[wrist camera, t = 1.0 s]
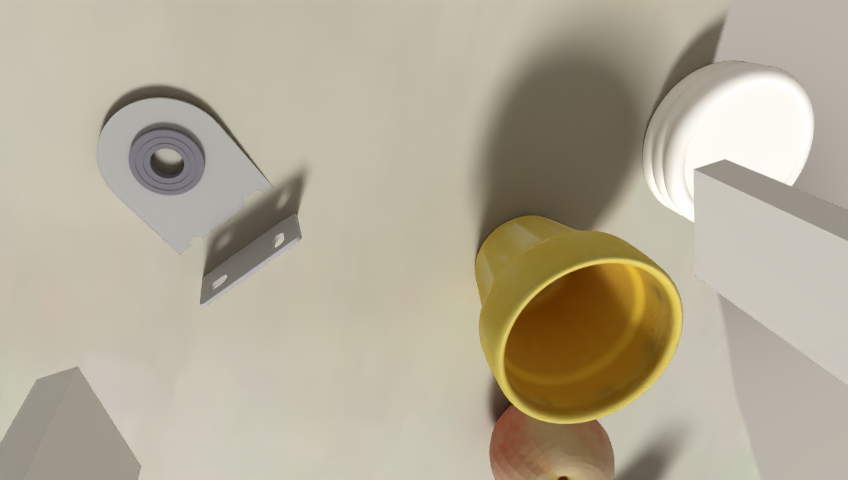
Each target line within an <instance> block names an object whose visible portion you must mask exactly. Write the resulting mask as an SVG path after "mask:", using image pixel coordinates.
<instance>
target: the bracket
mask: <svg viewBox="0 0 848 480" xmlns="http://www.w3.org/2000/svg"><path fill="white" fill-rule="evenodd" d="M163 148H168V149H172V150H175V151H176V152H178V153H179V154H180V155H181V156H182V158H183V160H184V167H183V168H182V169H181V170H180V171H179V172H177V173H173V174H167V173H163V172H161V171H159V170H158V169H157V168H156V167H155V166H154V164H153V162H152V154H153V153H154V152H155V151H157V150H159V149H163ZM97 160H98V165H99V169H100V172H101V174H102V177H103V179H104V180H105V182H106V184H107V185H108V187H109V188H110V189H111V191H112V192H113V193H114V194H115V195H116V196H117V197H118V198H119V199H120V200H121V201H122V202H123V203H124V204H125V205H126V206H128V207H129V208H130V209H131V210H132V211H133V212H134V213H135V214H136V215H137V216H138V217H139V218H141V219H142V220H143V221H144V222H145V223H146V224H147V225H148V226H149V227H150V228H151V229H152V230H154V231H155V232H156V233H157V234H158V235H159V236H160V237H161V238H162V239H163V240H164V241H165V242H166V243H168V244H169V245H170V246H171V247H172V248H173V249H174V250H175V251H176V252H177V253H178V254H179V255H180V254H181V253H183V252H184V251H185V250H187V249H188V248H189V247H191V245H190V240H191V239H192V238H193V237H195V236H200V237H202V238H203V237H205V236H206V235H207V234H209V233H210V232H212V231H213V230H214V229H216V228H217V227H218V226H220V225H221V224H223V223H224V222H225V221H227V220H228V219H229V218H231V217H232V216H234V215H235V214H236V213H238V212H239V211H241V210H242V209H243V208H244V206H243V200H244V199H245V198H246V197H248V196H249V195H251V194H252V193H253V192H255V191H262V192H264V193H265V192H267V191H268V190H270V189H271V188H272V187H273V186H272V185H271V184H270V183H269V181H268V180H267V179H266V178H265V177H264V176H263V174H262V173H261V172H260V171H259V170H258V168H257V167H256V166H255V165H254V164H253V163H252V161H251V160H250V159H249V158H248V157H247V155H246V154H245V153H244V152H243V151H242V150H241V148H240V147H239V146H238V145H237V144H236V143H235V141H234V140H233V139H232V138H231V137H230V136H229V135H228V133H227V132H226V131H225V130H224V129H223V128H222V127H221V125H220V124H219V123H218V122H217V121H216V120H215V119H214V118H213V117H212V116H211V115H209V114H208V113H207V112H205V111H204V110H202V109H201V108H199V107H197V106H195V105H193V104H191V103H189V102H186V101H182V100H179V99H174V98H167V97H153V98H146V99H141V100H138V101H135V102H132V103H130V104H128V105H126V106H124V107H123V108H121V109H120V110H119V111H117V112H116V113H115V114H114V115H113V116H112V117H111V118H110V119H109V121H108V122H107V123H106V125H105V126H104V128H103V130H102V132H101V134H100V137H99V141H98V146H97ZM283 236H284V241H283V243H282V244H281V245H279V246H278V247H276V248H275V243H276V242H277V240H279V239H280V238H281V237H283ZM301 237H302V236H301V231H300V226H299V222H298V217H297V215H296V214H295V213H293V214H292V215H290V216H289V217H288V218H286V219H284V220H282V221H281V222H279V223H278V224H277V225H275V226H274V227H272V228H271V229H269V230H268V231H267V232H265V233H264V234H262V235H261V236H260V237H258V238H257V239H255V240H254V241H253V242H251V243H250V244H248V245H247V246H245V247H244V248H243V249H241V250H240V251H238V252H237V253H236V254H234V255H233V256H231V257H230V258H229V259H227V260H226V261H224V262H223V263H221V264H220V265H219V266H217V267H216V268H214V269H213V270H212V271H211V272H210V273H209V274H207V275H206V276H204V277H203V278H202V288H201V298H200V304H201V305H202V306H203V307H207V306H208V305H210V304H211V303H212V302H214V301H215V300H217V299H218V298H219V297H221V296H222V295H224V294H225V293H227V292H228V291H229V290H231V289H232V288H234V287H235V286H236V285H238V284H239V283H241V282H242V281H244V280H245V279H246V278H248V277H249V276H251V275H252V274H253V273H255V272H256V271H258V270H259V269H261V268H262V267H263V266H265V265H266V264H268V263H269V262H270V261H272V260H273V259H275V258H276V257H278V256H279V255H280V254H282V253H283V252H285V251H286V250H287V249H289V248H290V247H292V246H293V245H295V244H296V243H297V242H299V241H300V239H301ZM225 279H226V280H225ZM223 280H225V281H224V282H223V283H222V284H221V285H220V286H218V287H217V288H215V289H214V290H213V288H214V287H215V286H216V285H218V284H219V283H220V282H222V281H223Z"/></svg>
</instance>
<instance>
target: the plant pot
mask: <svg viewBox="0 0 848 480" xmlns="http://www.w3.org/2000/svg"><path fill="white" fill-rule="evenodd" d="M475 276H476V281H477V285H478V290H479V295H480V299H481V304H482V308H481V313H480V320H479V336H480V342H481V346H482V349H483V352H484V355H485V357H486V360H487V362H488V364H489V366H490V369H491V371H492V373H493V375H494V377H495V379H496V381H497V382H498V384H499V386H500V388H501V390H502V391H503V393H504V394H505V396H506V397H507V398H508V400H509V401H510V402H511V403H512V404H513V405H514V406H515V407H517V408H518V409H519V410H520V411H522V412H523V413H525V414H527V415H529V416H531V417H533V418H536V419H538V420H541V421H545V422H550V423H557V424H573V423H582V422H587V421H591V420H595V419H598V418H601V417H604V416H606V415H609V414H611V413H613V412H615V411H617V410H619V409H621V408H623V407H624V406H626V405H628V404H629V403H631V402H632V401H634V400H635V399H636V398H638V397H639V396H640V395H642V394H643V393H644V392H645V391H646V390H647V389H648V388H649V387H650V386H651V385H652V384H653V383H654V382H655V381H656V380H657V379H658V378H659V377H660V375H661V374H662V373H663V371H664V370H665V369H666V367H667V366H668V364H669V362H670V361H671V359H672V357H673V355H674V353H675V351H676V348H677V346H678V343H679V340H680V336H681V332H682V326H683V308H682V302H681V298H680V295H679V292H678V290H677V288H676V286H675V284H674V282H673V281H672V280H671V278H670V277H669V276H668V274H667V273H666V272H665V271H664V270H663V269H662V268H661V267H659V266H658V265H657V264H656V263H655V262H654V261H652V260H651V259H650V258H649V257H647V256H646V255H645V254H643V253H642V252H641V251H639V250H638V249H636V248H635V247H633V246H632V245H630V244H629V243H627V242H626V241H624V240H622V239H620V238H618V237H616V236H613V235H611V234H607V233H603V232H598V231H589V230H581V231H578V230H575V229H573V228H570V227H568V226H565V225H563V224H561V223H558V222H556V221H554V220H551V219H549V218H546V217H542V216H534V215H530V216H522V217H518V218H514V219H512V220H509V221H507V222H505V223H504V224H502V225H500V226H498V227H497V228H496V229H495V230H494V231H493V232H492V233H491V234H490V235H489V236H488V237H487V238H486V240H485V241H484V243H483V244H482V246H481V248H480V250H479V252H478V255H477V259H476V264H475Z"/></svg>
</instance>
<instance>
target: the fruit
mask: <svg viewBox="0 0 848 480" xmlns="http://www.w3.org/2000/svg"><path fill="white" fill-rule="evenodd" d="M490 462H491V468H492V472H493V475H494V478H495V480H613V477H614V454H613V449H612V446H611V442H610V439H609V437H608V434H607V433H606V431H605V430H604V428H603V427H602V426H601V425H600V423H599V422H598V421H597V420H596V419H595V420H591V421H587V422H582V423H573V424H557V423H550V422H545V421H541V420H538V419H536V418H533V417H531V416H529V415H527V414H525V413H523V412H522V411H520V410H519V409H518V408H517V407H515V406H514V405H513V404H512V405H510V406H509V407H508V408H507V409H506V410H505V412H504V413H503V414H502V415H501V417H500V418H499V419H498V421H497V422H496V425H495V427H494V430H493V432H492V437H491V443H490Z"/></svg>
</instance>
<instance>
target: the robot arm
mask: <svg viewBox="0 0 848 480" xmlns="http://www.w3.org/2000/svg"><path fill="white" fill-rule="evenodd" d="M694 251H695V276H696V277H697V278H699V279H700V280H701V281H703V282H704V283H706V284H707V285H708V286H710V287H711V288H713V289H714V290H715V291H717V292H718V293H720V294H721V295H723V296H724V297H725V298H727V299H728V300H730V301H731V302H732V303H734V304H735V305H736V306H738V307H739V308H741V309H742V310H743V311H745V312H746V313H748V314H749V315H750V316H752V317H753V318H755V319H756V320H757V321H759V322H760V323H762V324H763V325H765V326H766V327H767V328H769V329H770V330H771V331H773V332H774V333H776V334H777V335H778V336H780V337H781V338H783V339H784V340H785V341H787V342H788V343H790V344H791V345H792V346H794V347H795V348H797V349H798V350H799V351H801V352H802V353H804V354H805V355H806V356H808V357H809V358H811V359H812V360H814V361H815V362H816V363H818V364H819V365H820V366H822V367H823V368H825V369H826V370H827V371H829V372H830V373H832V374H833V375H834V376H836V377H837V378H839V379H840V380H841V381H843V382H844V383H846V384H847V385H848V209H845V208H843V207H840V206H838V205H835V204H833V203H830V202H828V201H826V200H823V199H821V198H818V197H816V196H814V195H811V194H809V193H806V192H804V191H801V190H799V189H797V188H794V187H792V186H789V185H787V184H784V183H782V182H780V181H777V180H775V179H772V178H770V177H767V176H765V175H763V174H760V173H758V172H755V171H753V170H750V169H748V168H746V167H743V166H741V165H738V164H736V163H733V162H731V161H729V160H726V159H724V160H721V161H717V162H714V163H711V164H708V165H705V166H702V167H699V168H696V169H694ZM140 468H141V465H140V463H139V462H138V460H137V459H136V457H135V456H134V454H133V452H132V451H131V449H130V448H129V446H128V445H127V443H126V441H125V440H124V438H123V437H122V435H121V434H120V432H119V430H118V429H117V427H116V426H115V424H114V423H113V421H112V420H111V418H110V416H109V415H108V413H107V412H106V410H105V409H104V407H103V405H102V404H101V402H100V401H99V399H98V398H97V396H96V394H95V393H94V391H93V390H92V388H91V387H90V385H89V383H88V382H87V380H86V379H85V377H84V376H83V374H82V372H81V371H80V369H79V368H78V367H75V368H71V369H68V370H65V371H62V372H59V373H56V374H53V375H50V376H46V377H43V378H40V379H37V380H36V382H35V383H34V385H33V387H32V389H31V390H30V392H29V394H28V396H27V398H26V399H25V401H24V403H23V405H22V406H21V408H20V410H19V412H18V413H17V415H16V417H15V419H14V420H13V422H12V424H11V426H10V427H9V429H8V431H7V433H6V434H5V436H4V438H3V440H2V442H1V443H0V480H138V476H139V472H140Z"/></svg>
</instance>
